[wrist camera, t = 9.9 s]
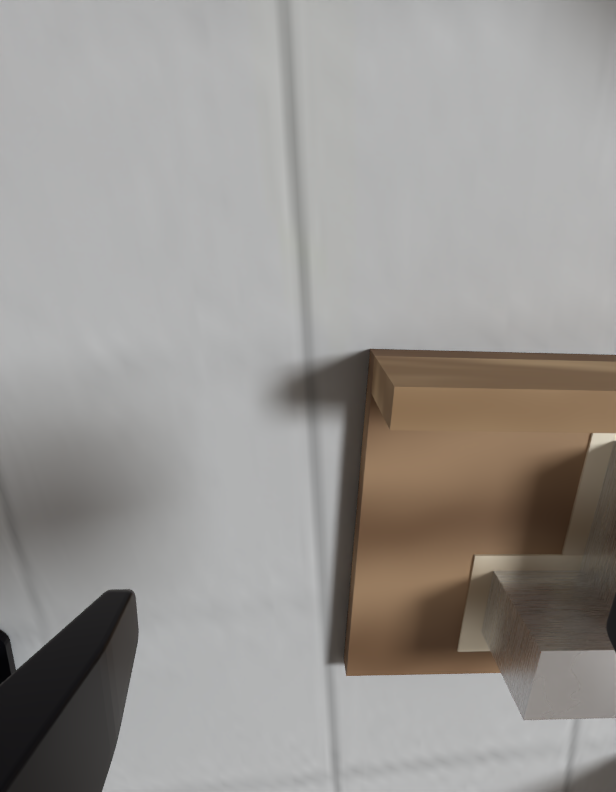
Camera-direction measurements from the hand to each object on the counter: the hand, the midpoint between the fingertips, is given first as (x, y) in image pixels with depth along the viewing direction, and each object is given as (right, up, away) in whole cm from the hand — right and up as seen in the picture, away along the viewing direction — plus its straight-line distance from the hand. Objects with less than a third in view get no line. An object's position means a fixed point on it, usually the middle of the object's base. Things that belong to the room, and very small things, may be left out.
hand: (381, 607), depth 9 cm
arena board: (+11, -2, +15) cm, 19 cm away
